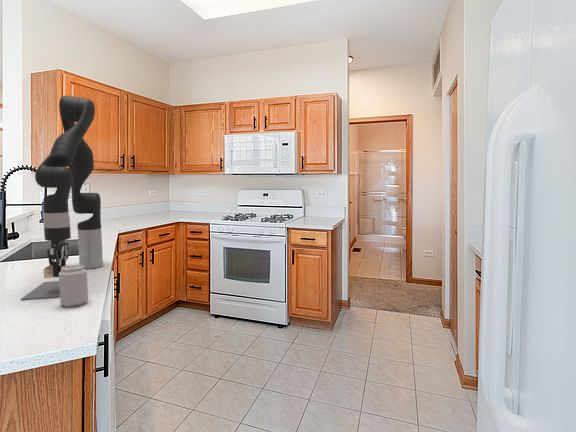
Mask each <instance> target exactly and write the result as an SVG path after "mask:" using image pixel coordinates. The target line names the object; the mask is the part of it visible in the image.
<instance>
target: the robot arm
mask: <svg viewBox="0 0 576 432" xmlns="http://www.w3.org/2000/svg"><path fill="white" fill-rule="evenodd" d="M58 107H59V108H58V109H59V115H60V121H61V125H62V128H63V133H61V134H60V135H59V136H58V137H57V138H56V139H55V140H54V143H53V145H52V148H51V150H50V153H49V155H47V157H46V158H45V159H44V160H43V161H42V162H41V164H39V166H38V167H37V169H36V171H35V175H34V176H35V177H34V179H35V182H36V184H37V185H38V186H40V187H41V188H45V189H46V188H51V189H53V188H54V189H56V190H55V191H54V193H53V194H48V195H45V196H44V197H43V201H42V204H43V234H44V240H45V241H47V242H50V246H49V248H47V250H46V253H47V258H48V263H49V265H50V266H51V265H52V266H53V276H54V278H59V272H60V271H61V266H64V265H67V261H68V260H69V242H66V240H70V239H71V238H72V237H71V236H72V235H71V234H72V233H71V219H70V217H71V216H70V212H69V197H70V193H71V203H72V210H73V212H74V213H75V214H76V215H77V214H80V215H81V214H82V215H83V214H84V215H85V214H91V215H92V216H91V217H89V218H88V219H86V220H82V221H80V222H78V223H77V241H78V243H77V245H78V260H79V261H78V262H79V263H78V265H83V266H84V268H85V269H86V270H89V269H98V268H102V267H103V266H104V262H103V261H104V258H103V238H102V237H103V236H102V234H103V233H102V219H101V215H102V214H101V209H102V207H101V206H102V205H101V204H102V202H101V195H100V194H99V193H98V192H81V189H82V187H83V185H84V183H85V182H86V180H87V179H88V178H89V177H90V175H91V174H92V172H93V171H94V169H95V168H94V167H95V162H94V161H95V160H94V154H93V153H94V152H93V150H92V148H91V147H90V146H89V145H88V143H87V142H86V141H85V139H84V137H85V135H86V133H87V132H88V130H89V129H90V126H91V125H92V123H93V121H94V118H95V115H96V109H95V103H94V102H93V101H92V100H91V99H89V98H85V97H78V96H77V97H76V96H72V95H64V94H63V95H62V96H61V97H60V99H59V104H58Z"/></svg>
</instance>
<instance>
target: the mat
mask: <svg viewBox="0 0 576 432" xmlns="http://www.w3.org/2000/svg"><path fill="white" fill-rule="evenodd" d="M55 298H59V299H60V287H59V280H53V281H44V282H42V283H41V284H40V285H38V286H37V287H35V288H34V289H33V290H32V291H29V292H28V293H27V294H25V295H24V296H23V297H22V298H20V300H21V301H31V300H42V299H43V300H46V299H55Z"/></svg>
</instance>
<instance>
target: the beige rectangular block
mask: <svg viewBox="0 0 576 432" xmlns="http://www.w3.org/2000/svg"><path fill="white" fill-rule="evenodd" d="M70 265H71V264H66V265H64V266H61V268H62V267H65V266H70ZM43 278H44V279H49V278H53V279H54V278H55V277H54V276H53V266H52V265H51V266H50V264H49V265H47V266H46V267H44V269H43Z"/></svg>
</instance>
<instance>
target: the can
mask: <svg viewBox="0 0 576 432" xmlns="http://www.w3.org/2000/svg"><path fill="white" fill-rule="evenodd" d="M69 265H70V266H65V267H62V268H61V271H60V272H59V277H58V281H59V287H60V297H59V301H60V302H59V303H60V304H61V305H62V306H63V307H64V308H65V307H66V308H75V307H79V306H82V305H84V304H85V303H86V302H87V301H89V291H88V271H87V270H88V269H85V268H84V266H83V265H80V264H69Z"/></svg>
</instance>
